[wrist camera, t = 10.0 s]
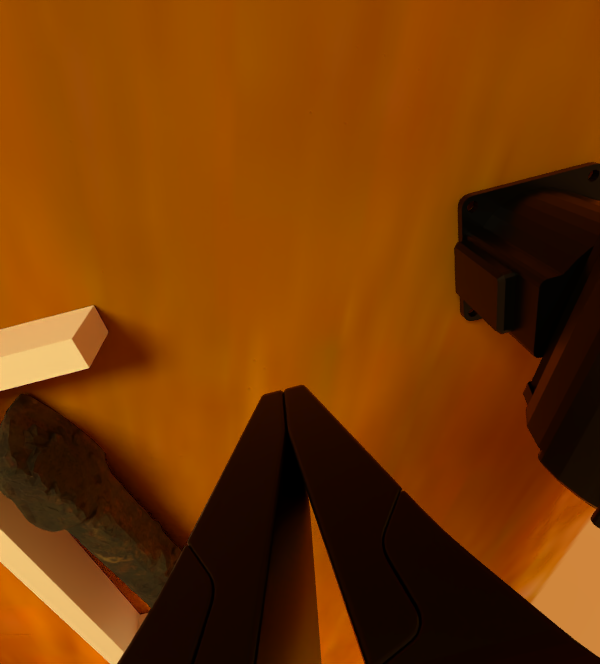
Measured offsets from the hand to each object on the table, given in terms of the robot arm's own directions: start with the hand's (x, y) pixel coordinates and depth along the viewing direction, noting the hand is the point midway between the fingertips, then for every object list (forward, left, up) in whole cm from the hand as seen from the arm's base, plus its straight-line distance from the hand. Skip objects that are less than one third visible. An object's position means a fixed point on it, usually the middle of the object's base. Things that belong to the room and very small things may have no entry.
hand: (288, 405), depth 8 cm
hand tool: (+13, +15, -12) cm, 23 cm away
